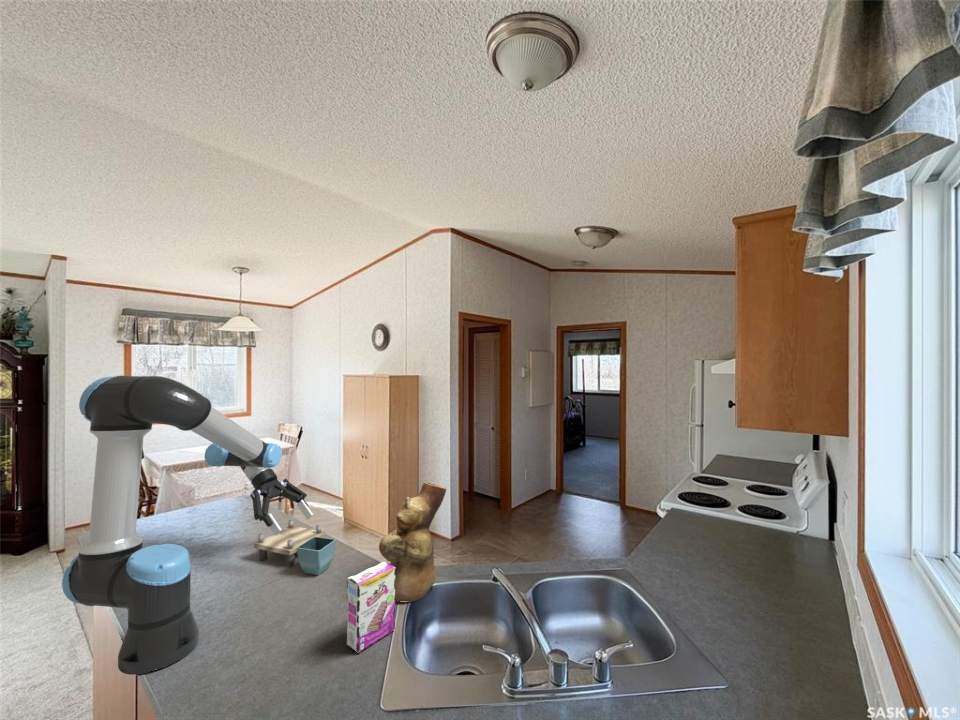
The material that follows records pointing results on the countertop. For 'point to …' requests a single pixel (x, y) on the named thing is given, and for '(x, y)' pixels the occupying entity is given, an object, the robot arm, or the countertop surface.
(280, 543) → the plant stand
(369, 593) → the candy bar box
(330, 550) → the flower pot
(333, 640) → the countertop surface
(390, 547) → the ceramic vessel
